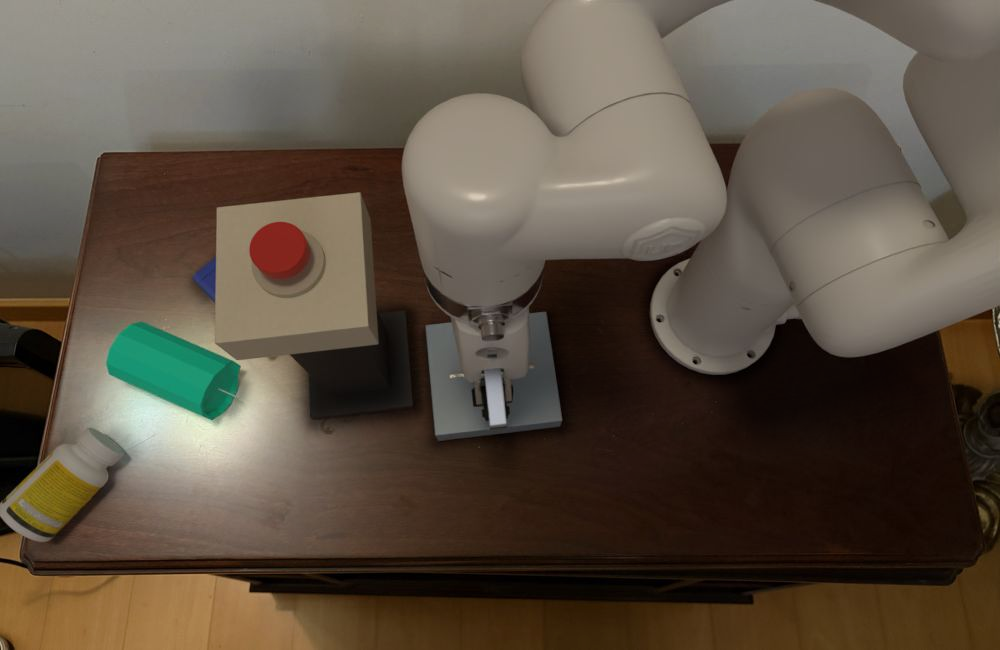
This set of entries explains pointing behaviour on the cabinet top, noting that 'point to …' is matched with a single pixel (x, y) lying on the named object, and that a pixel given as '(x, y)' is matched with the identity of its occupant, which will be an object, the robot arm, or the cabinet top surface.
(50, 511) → the supplement bottle
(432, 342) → the dial panel
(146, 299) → the cabinet top surface
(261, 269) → the power button
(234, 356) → the switch tower
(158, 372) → the candle
